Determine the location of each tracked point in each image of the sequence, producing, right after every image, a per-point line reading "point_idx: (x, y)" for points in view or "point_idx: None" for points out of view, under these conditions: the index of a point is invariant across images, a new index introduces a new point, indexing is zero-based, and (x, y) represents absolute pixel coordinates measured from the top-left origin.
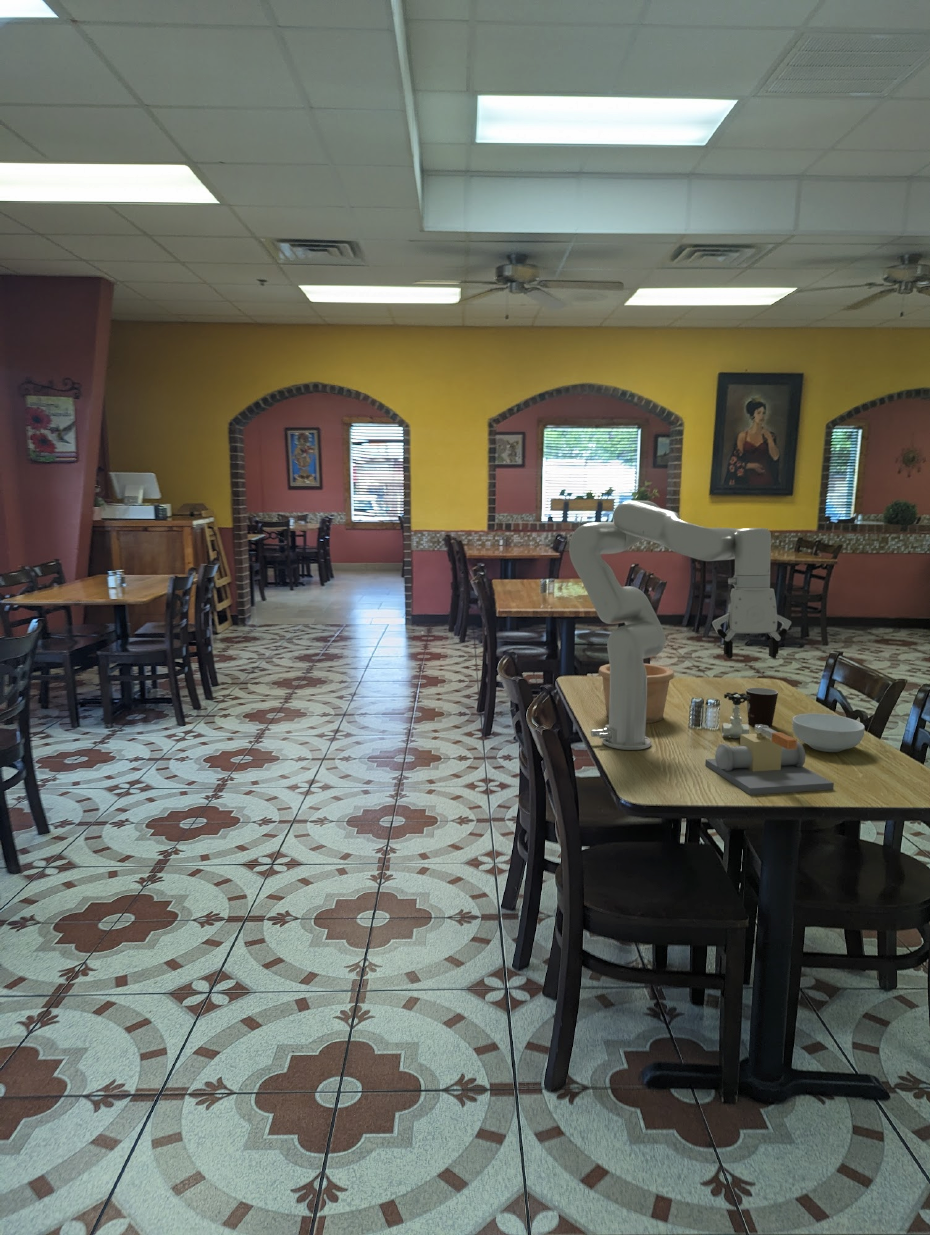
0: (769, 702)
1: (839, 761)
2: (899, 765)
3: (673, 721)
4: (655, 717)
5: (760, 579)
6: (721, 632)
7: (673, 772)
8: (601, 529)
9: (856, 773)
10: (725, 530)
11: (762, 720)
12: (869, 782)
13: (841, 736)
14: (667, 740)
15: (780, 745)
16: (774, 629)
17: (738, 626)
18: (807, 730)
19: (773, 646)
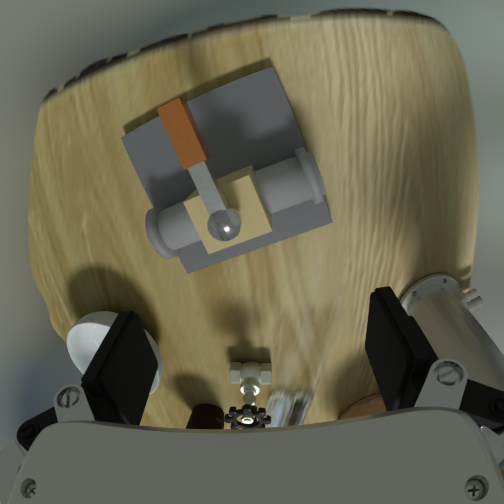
0: None
1: (107, 281)
2: (46, 275)
3: (328, 410)
4: (357, 407)
5: None
6: (496, 404)
7: (391, 170)
8: None
9: (88, 229)
10: None
11: (205, 411)
12: (75, 190)
13: (92, 317)
14: (363, 336)
15: (195, 122)
16: (44, 431)
17: (440, 461)
18: None
19: (111, 357)
